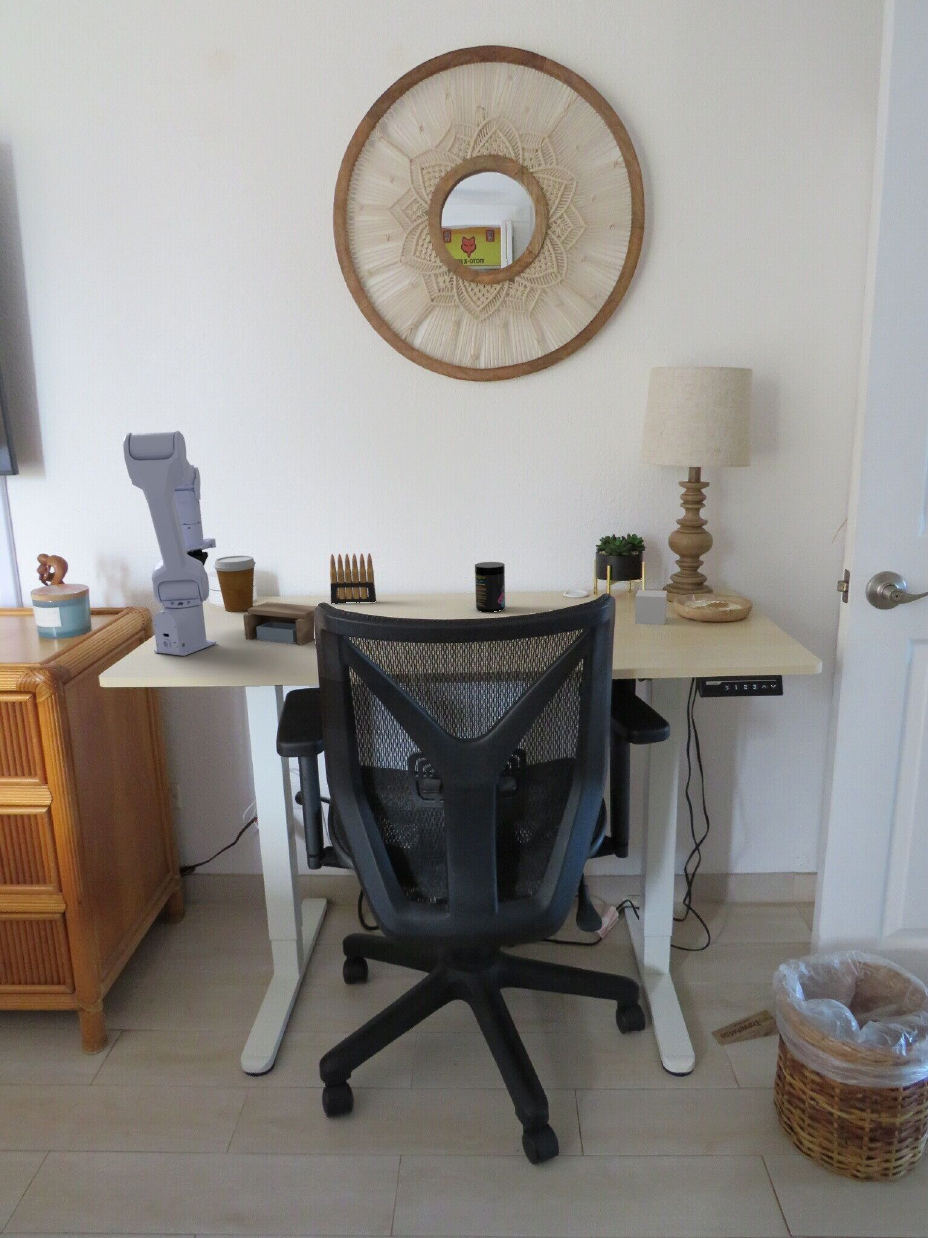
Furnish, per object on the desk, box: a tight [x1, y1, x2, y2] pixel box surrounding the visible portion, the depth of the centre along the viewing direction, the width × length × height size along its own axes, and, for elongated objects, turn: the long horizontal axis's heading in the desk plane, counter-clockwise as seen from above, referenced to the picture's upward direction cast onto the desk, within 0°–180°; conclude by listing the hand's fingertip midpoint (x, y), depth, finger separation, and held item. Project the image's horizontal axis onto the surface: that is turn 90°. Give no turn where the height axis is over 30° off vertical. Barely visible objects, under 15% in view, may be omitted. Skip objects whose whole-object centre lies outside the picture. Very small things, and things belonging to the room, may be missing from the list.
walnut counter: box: [242, 601, 316, 646], centre depth 177 cm, size 8×14×6 cm, turn 65°
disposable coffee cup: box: [213, 555, 256, 613], centre depth 202 cm, size 10×10×12 cm
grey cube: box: [634, 589, 668, 626], centre depth 181 cm, size 6×6×6 cm
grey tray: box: [256, 621, 297, 644], centre depth 176 cm, size 5×9×3 cm, turn 65°
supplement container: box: [474, 561, 506, 613], centre depth 194 cm, size 7×7×10 cm
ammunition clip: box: [329, 553, 377, 605], centre depth 204 cm, size 11×2×12 cm, turn 88°
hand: (194, 586), depth 183 cm, fingers closed
